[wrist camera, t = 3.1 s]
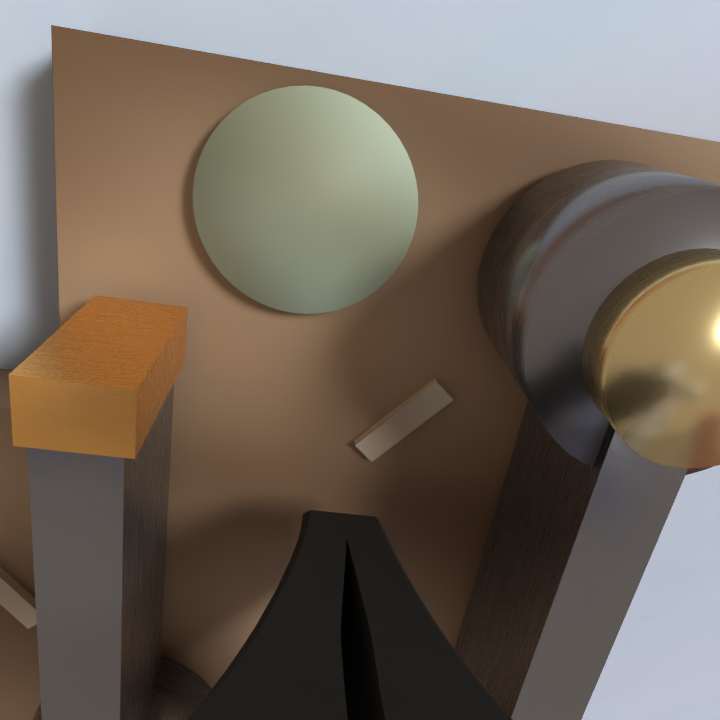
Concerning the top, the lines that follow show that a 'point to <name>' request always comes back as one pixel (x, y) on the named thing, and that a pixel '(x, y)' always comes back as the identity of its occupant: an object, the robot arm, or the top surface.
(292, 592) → the robot arm
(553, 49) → the top surface
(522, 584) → the dark grey lever
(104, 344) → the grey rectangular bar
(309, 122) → the walnut base
